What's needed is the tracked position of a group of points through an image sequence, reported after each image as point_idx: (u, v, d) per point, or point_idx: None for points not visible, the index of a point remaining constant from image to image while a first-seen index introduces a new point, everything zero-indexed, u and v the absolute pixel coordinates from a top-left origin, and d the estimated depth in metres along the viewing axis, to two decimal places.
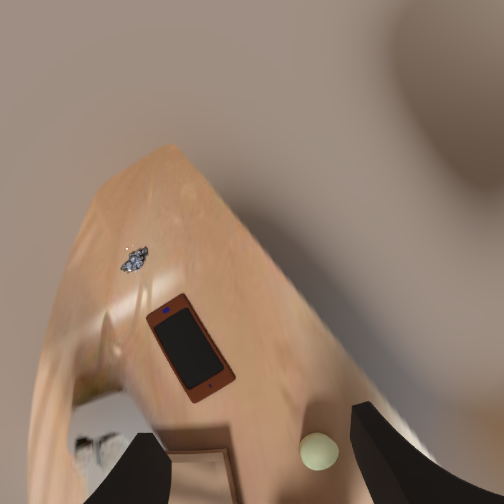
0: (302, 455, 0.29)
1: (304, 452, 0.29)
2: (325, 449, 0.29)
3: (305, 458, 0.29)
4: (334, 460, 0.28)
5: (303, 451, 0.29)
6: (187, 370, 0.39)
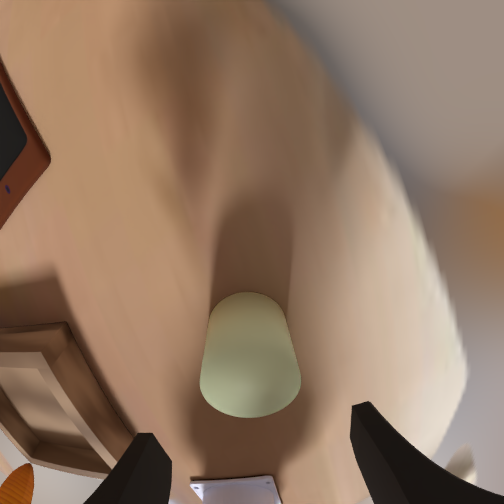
0: (202, 386, 0.12)
1: (206, 381, 0.12)
2: (263, 375, 0.12)
3: (210, 393, 0.12)
4: (287, 399, 0.13)
5: (203, 378, 0.12)
6: None
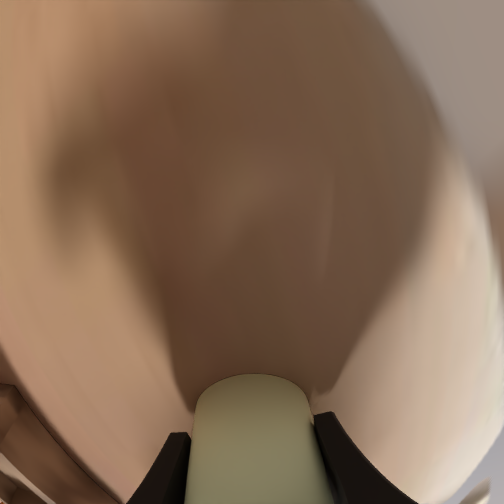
0: None
1: None
2: None
3: None
4: None
5: None
6: None
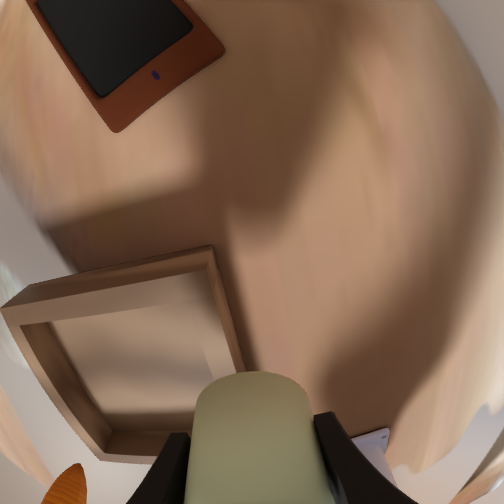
0: None
1: None
2: None
3: None
4: None
5: None
6: (98, 53, 0.12)
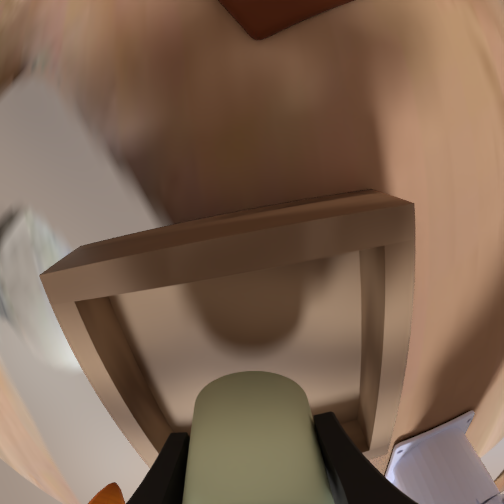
0: None
1: None
2: None
3: None
4: None
5: None
6: None
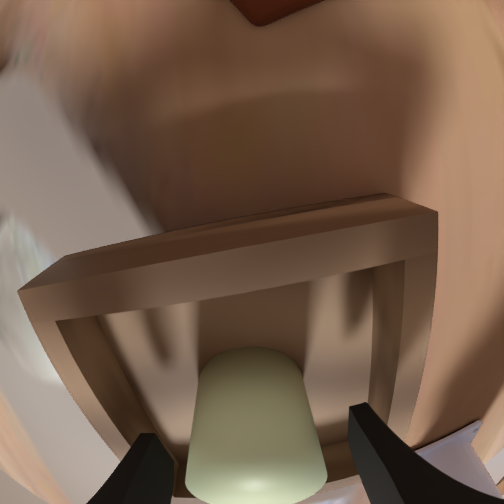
0: (189, 485, 0.07)
1: (195, 482, 0.07)
2: (276, 478, 0.07)
3: (200, 491, 0.07)
4: (304, 494, 0.08)
5: (190, 479, 0.07)
6: None
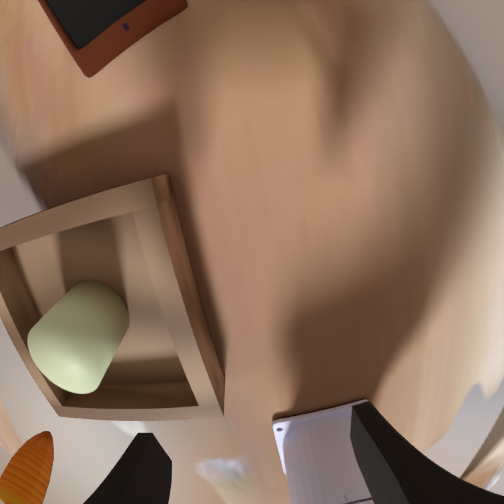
0: (33, 355, 0.12)
1: (32, 350, 0.12)
2: (67, 352, 0.12)
3: (38, 362, 0.12)
4: (94, 380, 0.12)
5: (30, 348, 0.12)
6: (80, 13, 0.11)
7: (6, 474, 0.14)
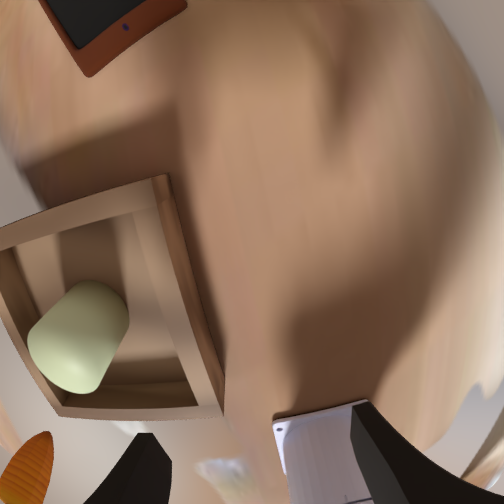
0: (33, 355, 0.12)
1: (32, 350, 0.12)
2: (66, 352, 0.12)
3: (38, 362, 0.12)
4: (94, 380, 0.12)
5: (30, 348, 0.12)
6: (80, 14, 0.11)
7: (6, 474, 0.14)
